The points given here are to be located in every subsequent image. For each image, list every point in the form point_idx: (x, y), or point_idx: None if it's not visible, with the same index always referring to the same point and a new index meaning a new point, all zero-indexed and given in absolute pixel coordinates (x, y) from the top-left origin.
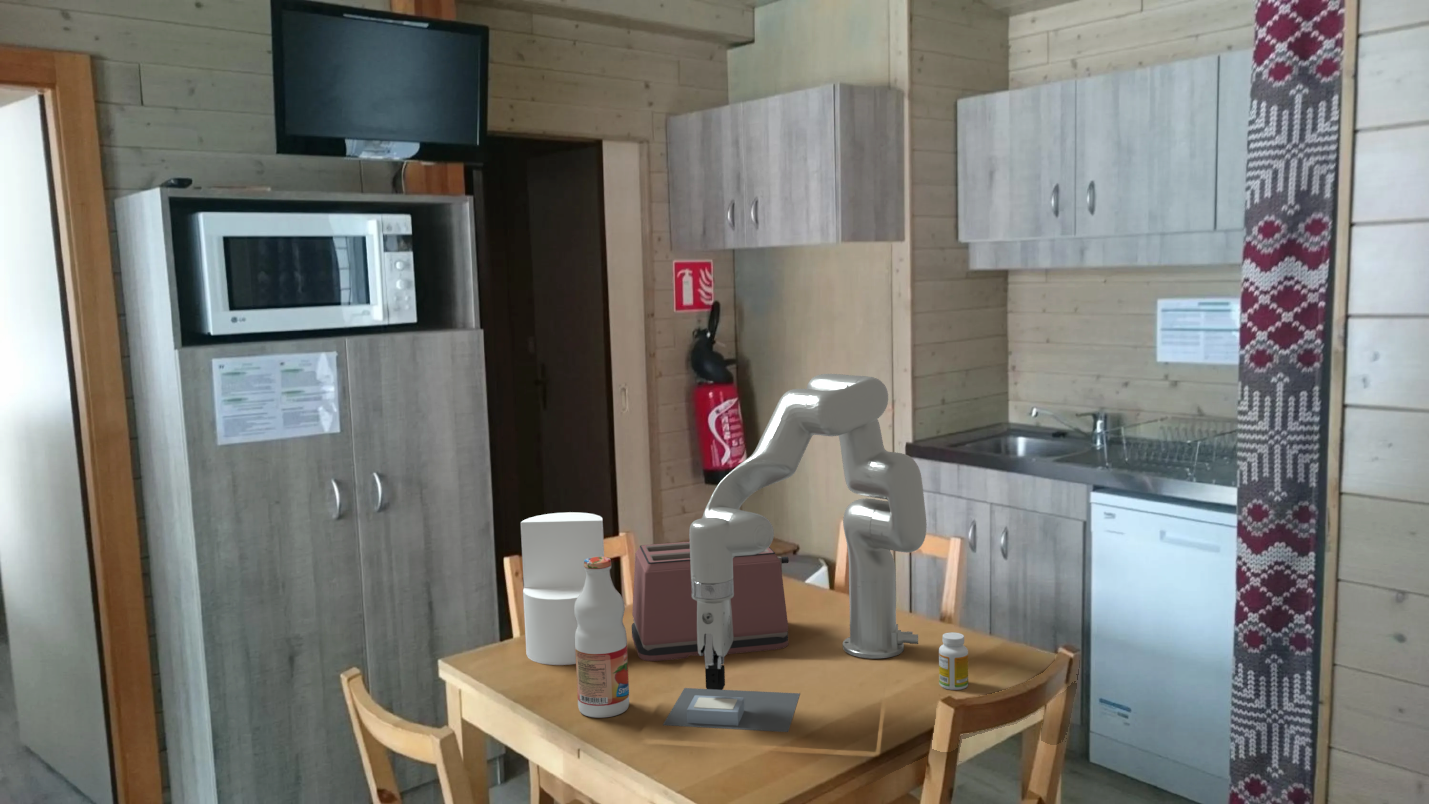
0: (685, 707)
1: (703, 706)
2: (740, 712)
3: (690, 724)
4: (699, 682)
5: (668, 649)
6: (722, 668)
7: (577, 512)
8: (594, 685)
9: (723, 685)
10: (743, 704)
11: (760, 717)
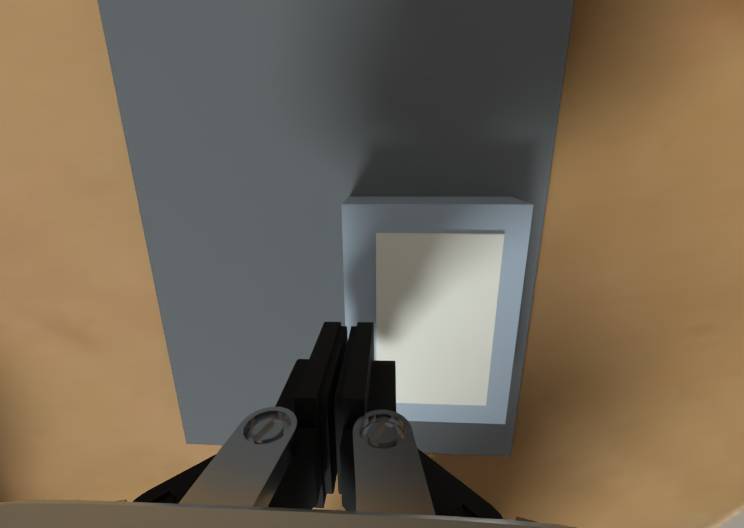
0: None
1: (476, 368)
2: (448, 200)
3: None
4: (100, 401)
5: None
6: (363, 399)
7: None
8: None
9: (370, 328)
10: (362, 200)
11: (415, 107)
